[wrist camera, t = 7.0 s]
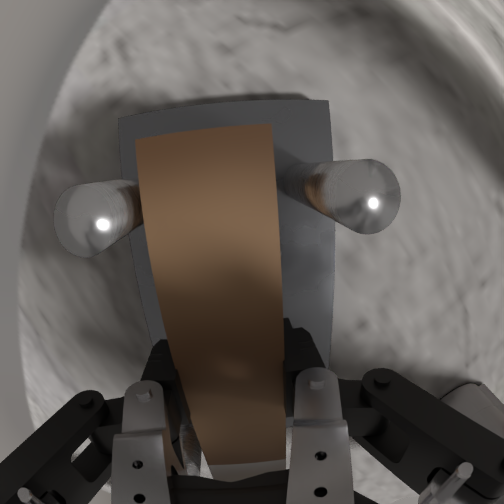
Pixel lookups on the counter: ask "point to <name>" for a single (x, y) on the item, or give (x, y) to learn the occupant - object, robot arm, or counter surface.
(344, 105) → the counter surface
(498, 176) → the counter surface
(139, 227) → the peg rack
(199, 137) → the brown wooden bar
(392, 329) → the counter surface
